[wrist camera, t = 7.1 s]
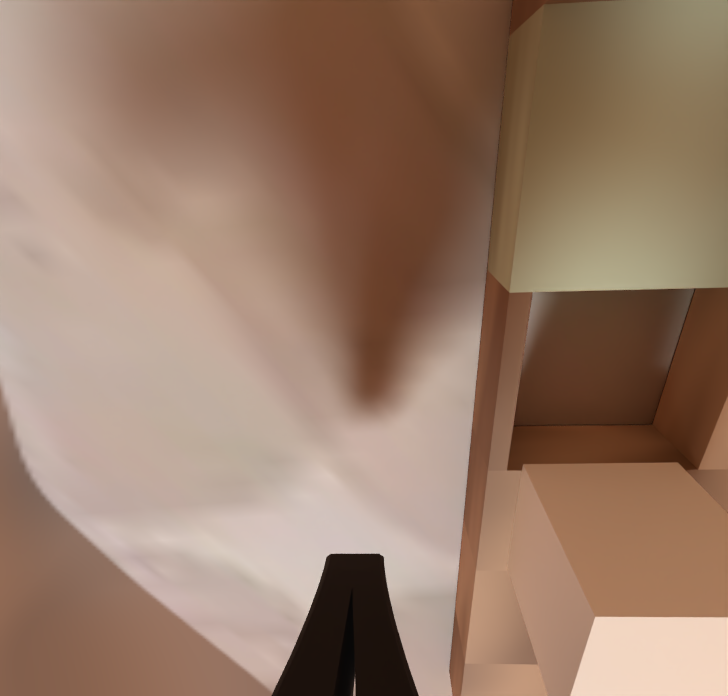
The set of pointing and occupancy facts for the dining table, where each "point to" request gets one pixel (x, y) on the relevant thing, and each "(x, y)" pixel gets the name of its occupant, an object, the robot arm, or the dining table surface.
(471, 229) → the dining table surface
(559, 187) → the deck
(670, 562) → the block
